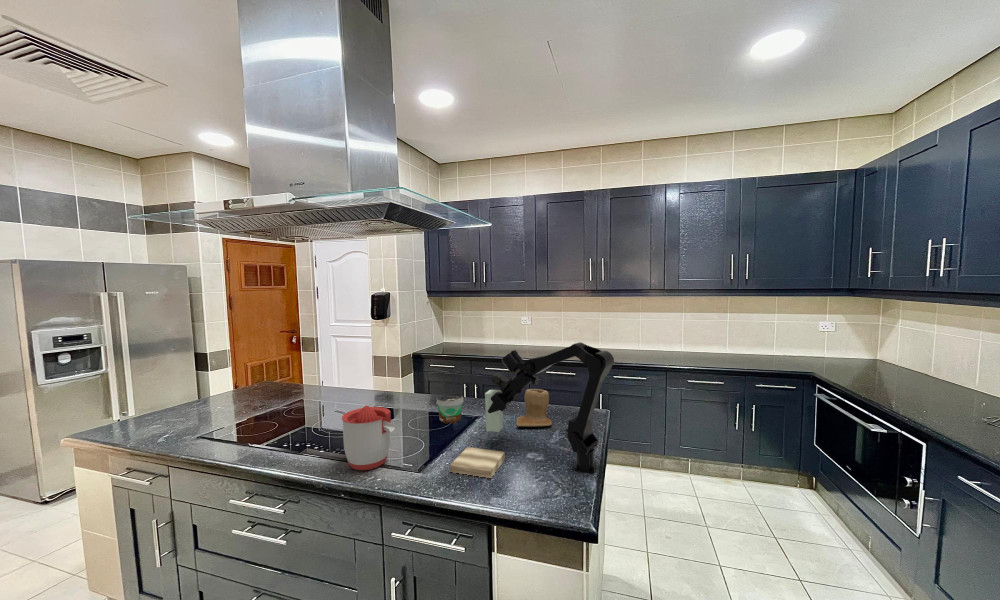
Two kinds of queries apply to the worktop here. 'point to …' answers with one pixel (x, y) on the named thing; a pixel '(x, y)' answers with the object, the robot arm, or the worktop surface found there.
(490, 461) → the birch base
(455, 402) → the food container
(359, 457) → the citrus juicer
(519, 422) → the stone cup
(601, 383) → the robot arm
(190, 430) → the worktop surface
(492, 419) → the sage block
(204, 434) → the worktop surface
